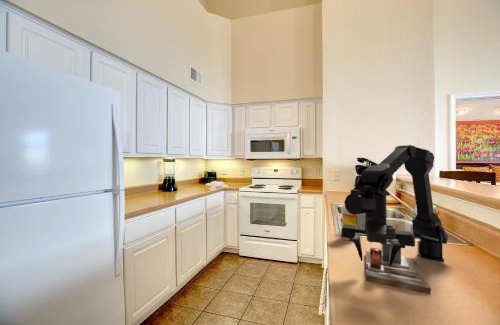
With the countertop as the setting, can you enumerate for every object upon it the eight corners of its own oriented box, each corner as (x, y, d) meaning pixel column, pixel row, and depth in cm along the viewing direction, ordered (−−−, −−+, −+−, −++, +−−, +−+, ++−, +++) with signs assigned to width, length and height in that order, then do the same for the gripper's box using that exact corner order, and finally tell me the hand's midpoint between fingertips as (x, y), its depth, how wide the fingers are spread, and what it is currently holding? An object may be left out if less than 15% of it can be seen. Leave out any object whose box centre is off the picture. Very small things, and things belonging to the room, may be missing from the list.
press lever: (382, 270, 68) (382, 248, 69) (383, 275, 65) (383, 253, 65) (368, 267, 70) (368, 246, 70) (368, 272, 67) (368, 250, 67)
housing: (397, 256, 78) (397, 236, 78) (401, 264, 72) (400, 242, 72) (381, 253, 81) (381, 234, 81) (382, 261, 74) (382, 239, 74)
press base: (414, 263, 78) (414, 255, 78) (430, 294, 59) (430, 283, 59) (365, 255, 85) (365, 247, 85) (366, 280, 66) (366, 271, 66)
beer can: (358, 241, 100) (357, 207, 100) (343, 240, 101) (343, 206, 101) (354, 237, 106) (354, 205, 106) (340, 236, 107) (340, 204, 107)
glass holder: (363, 229, 118) (363, 200, 119) (374, 238, 104) (374, 205, 105) (345, 228, 120) (345, 200, 120) (354, 237, 106) (354, 205, 106)
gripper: (339, 213, 65) (339, 267, 65) (419, 220, 57) (419, 283, 56) (342, 206, 75) (342, 253, 75) (411, 212, 67) (411, 265, 66)
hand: (375, 263), depth 68 cm, fingers open, 7 cm apart
